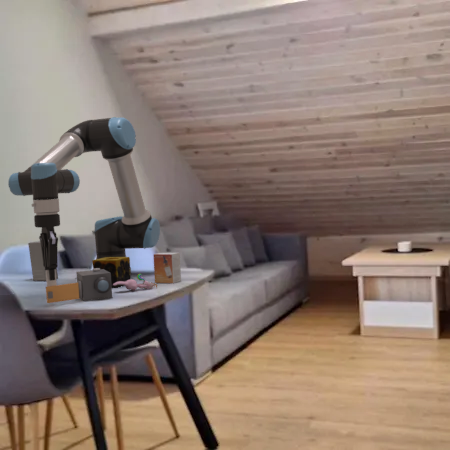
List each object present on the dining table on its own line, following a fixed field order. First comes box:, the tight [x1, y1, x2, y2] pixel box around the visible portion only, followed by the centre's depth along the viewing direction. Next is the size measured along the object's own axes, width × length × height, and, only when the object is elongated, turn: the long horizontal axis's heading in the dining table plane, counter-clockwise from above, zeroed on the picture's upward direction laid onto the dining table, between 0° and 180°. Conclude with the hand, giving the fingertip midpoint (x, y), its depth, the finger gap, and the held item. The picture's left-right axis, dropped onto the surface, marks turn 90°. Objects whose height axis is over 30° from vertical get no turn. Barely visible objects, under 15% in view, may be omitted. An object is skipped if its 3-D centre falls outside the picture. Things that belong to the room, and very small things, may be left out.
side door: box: [45, 281, 82, 304], centre depth 203 cm, size 11×2×5 cm, turn 123°
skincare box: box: [27, 240, 59, 282], centre depth 264 cm, size 8×7×16 cm
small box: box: [153, 252, 182, 284], centre depth 237 cm, size 8×6×10 cm
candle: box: [91, 256, 132, 289], centre depth 236 cm, size 10×10×10 cm
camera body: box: [75, 268, 113, 302], centre depth 212 cm, size 14×9×9 cm, turn 21°
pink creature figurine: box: [113, 273, 158, 292], centre depth 222 cm, size 6×6×15 cm
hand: (52, 290), depth 202 cm, fingers closed
